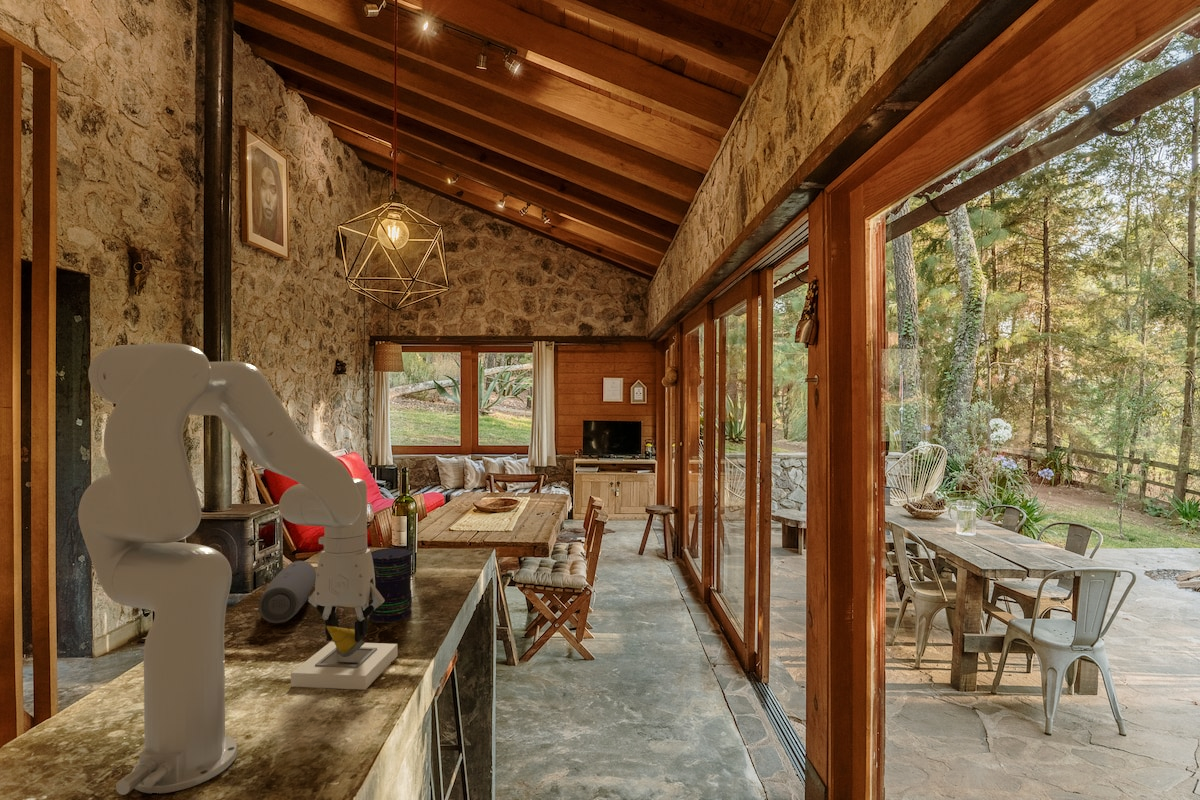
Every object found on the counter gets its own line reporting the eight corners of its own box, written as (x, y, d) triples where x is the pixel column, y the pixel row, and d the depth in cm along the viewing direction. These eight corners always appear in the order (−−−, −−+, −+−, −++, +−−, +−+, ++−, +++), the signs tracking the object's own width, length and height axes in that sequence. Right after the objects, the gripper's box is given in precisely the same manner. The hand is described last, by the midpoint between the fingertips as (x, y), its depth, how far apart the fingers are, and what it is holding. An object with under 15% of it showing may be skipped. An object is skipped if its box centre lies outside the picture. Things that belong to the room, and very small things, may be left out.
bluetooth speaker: (279, 598, 160) (279, 559, 159) (318, 595, 162) (318, 557, 162) (255, 631, 138) (255, 586, 138) (300, 627, 140) (300, 583, 140)
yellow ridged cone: (369, 658, 118) (334, 634, 112) (346, 667, 119) (310, 643, 113) (374, 633, 123) (341, 608, 117) (352, 641, 124) (318, 617, 118)
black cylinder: (368, 610, 150) (368, 549, 150) (410, 605, 154) (410, 546, 153) (368, 625, 141) (368, 560, 141) (413, 619, 144) (413, 556, 144)
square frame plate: (365, 689, 111) (365, 674, 110) (290, 686, 112) (290, 671, 112) (397, 656, 124) (397, 642, 124) (330, 653, 126) (330, 640, 126)
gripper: (292, 547, 115) (292, 645, 115) (380, 549, 113) (381, 648, 113) (314, 538, 122) (314, 629, 122) (397, 539, 121) (397, 632, 121)
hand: (346, 637), depth 118 cm, fingers closed on yellow ridged cone, 4 cm apart
